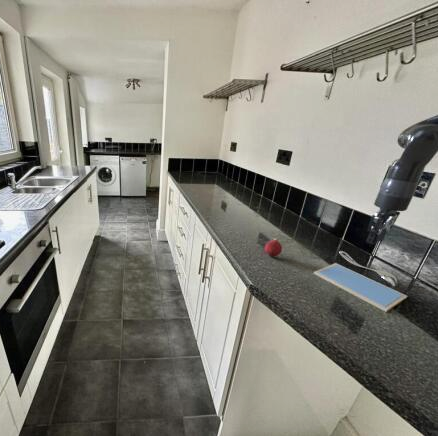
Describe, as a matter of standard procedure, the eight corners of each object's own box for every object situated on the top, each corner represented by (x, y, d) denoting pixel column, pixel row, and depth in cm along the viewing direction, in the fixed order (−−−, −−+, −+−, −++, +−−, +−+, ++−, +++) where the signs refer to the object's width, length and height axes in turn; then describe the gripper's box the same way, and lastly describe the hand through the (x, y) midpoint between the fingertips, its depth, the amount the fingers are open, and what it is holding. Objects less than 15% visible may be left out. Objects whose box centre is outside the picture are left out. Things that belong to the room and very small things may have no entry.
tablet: (334, 264, 88) (335, 262, 87) (406, 298, 71) (408, 295, 71) (313, 273, 82) (314, 271, 82) (386, 312, 65) (387, 309, 65)
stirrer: (337, 247, 93) (347, 246, 94) (334, 254, 94) (343, 253, 95) (393, 280, 75) (404, 279, 76) (387, 288, 77) (399, 287, 78)
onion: (274, 262, 88) (279, 243, 85) (260, 255, 92) (264, 237, 89) (281, 257, 91) (287, 239, 88) (267, 251, 95) (272, 234, 92)
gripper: (402, 199, 66) (378, 251, 72) (421, 194, 72) (398, 242, 78) (369, 192, 72) (350, 241, 78) (389, 188, 78) (370, 233, 84)
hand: (374, 241), depth 78 cm, fingers open, 5 cm apart
